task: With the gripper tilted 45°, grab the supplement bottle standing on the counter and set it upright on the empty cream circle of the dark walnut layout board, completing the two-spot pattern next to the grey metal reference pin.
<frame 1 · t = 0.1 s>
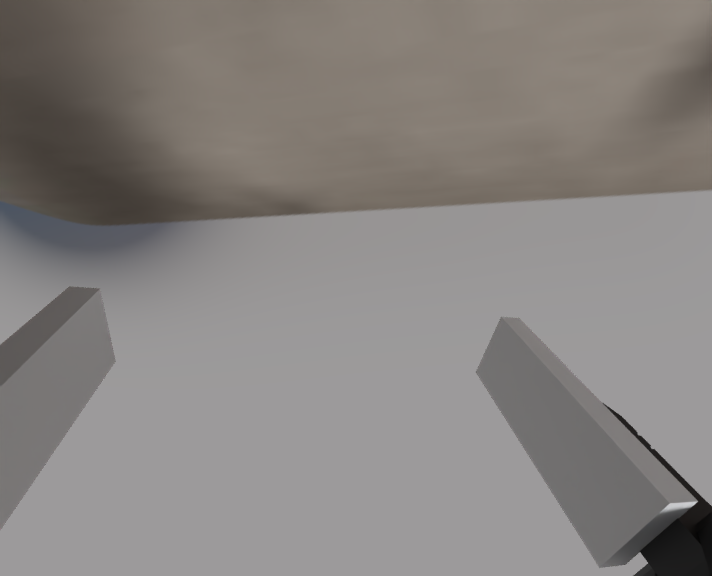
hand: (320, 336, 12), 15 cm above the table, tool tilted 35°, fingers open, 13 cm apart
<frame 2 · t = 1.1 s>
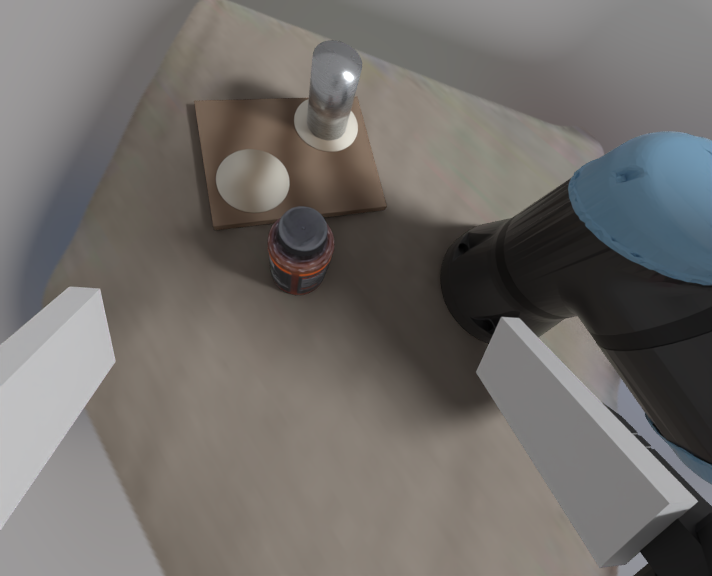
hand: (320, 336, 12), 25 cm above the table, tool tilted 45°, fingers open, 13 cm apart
reference pin: (325, 129, 43), resting on layout board
layout board: (292, 159, 41), on the table
supplement bottle: (297, 271, 38), on the table
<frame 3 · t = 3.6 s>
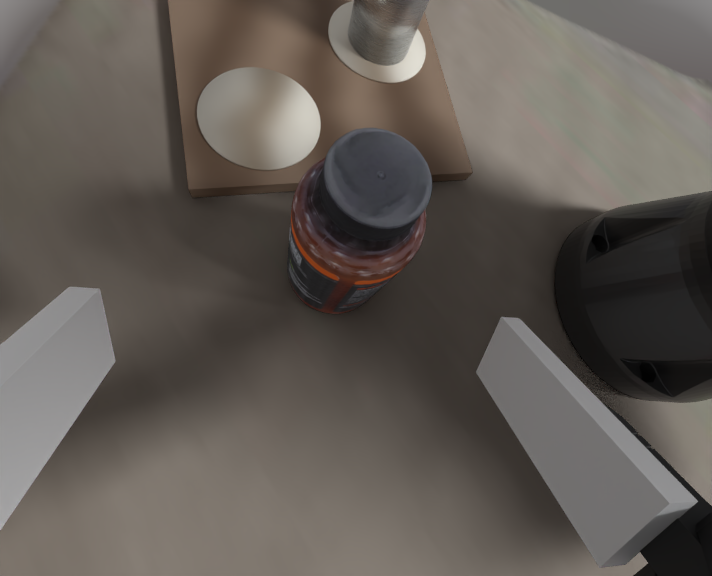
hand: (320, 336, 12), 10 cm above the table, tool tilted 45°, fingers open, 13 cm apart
reference pin: (374, 52, 28), resting on layout board
layout board: (323, 93, 26), on the table
supplement bottle: (331, 272, 23), on the table
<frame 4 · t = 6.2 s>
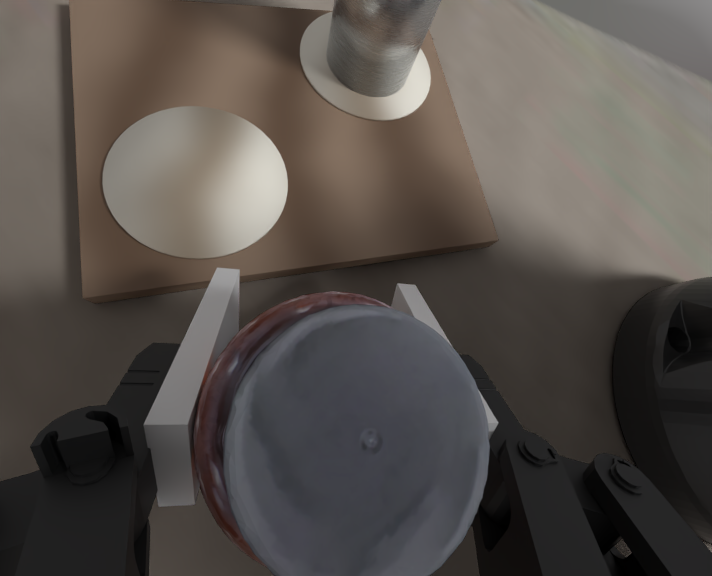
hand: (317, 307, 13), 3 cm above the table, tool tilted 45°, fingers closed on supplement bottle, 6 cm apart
reference pin: (363, 78, 21), resting on layout board
layout board: (294, 136, 19), on the table
supplement bottle: (305, 400, 16), on the table, touching gripper
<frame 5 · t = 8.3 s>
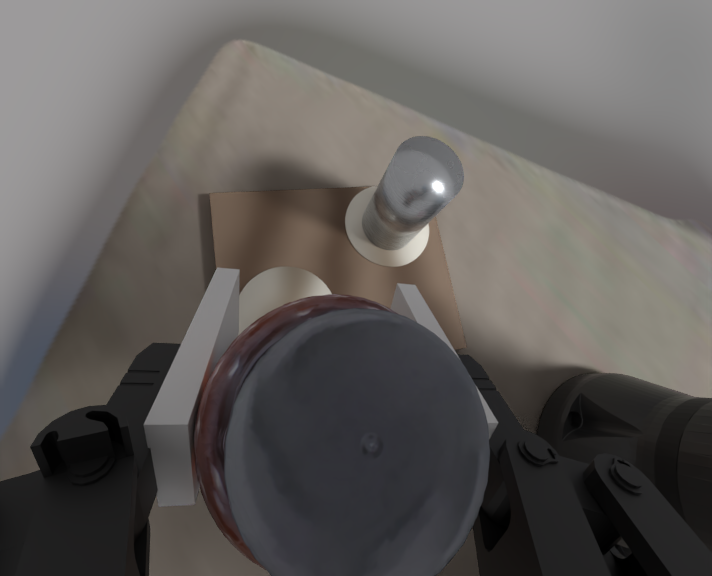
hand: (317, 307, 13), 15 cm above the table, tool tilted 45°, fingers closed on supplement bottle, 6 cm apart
reference pin: (384, 229, 32), resting on layout board
layout board: (339, 275, 30), on the table
supplement bottle: (305, 402, 16), point 12 cm above the table, touching gripper
when the fingers open (6 cm above the table, at t = 10.7 s): supplement bottle drops 1 cm, resting on layout board.
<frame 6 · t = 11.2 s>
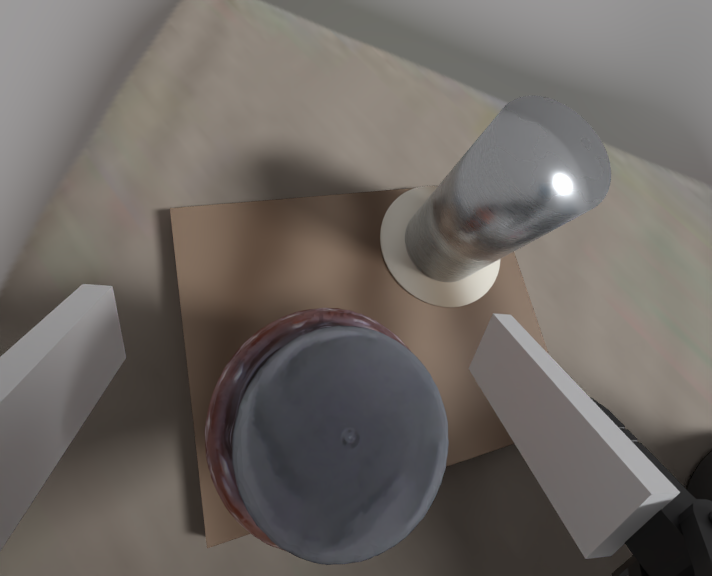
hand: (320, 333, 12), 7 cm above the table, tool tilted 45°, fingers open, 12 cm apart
reference pin: (434, 250, 22), resting on layout board
layout board: (376, 324, 20), on the table
supplement bottle: (303, 401, 17), point 1 cm above the table, touching layout board
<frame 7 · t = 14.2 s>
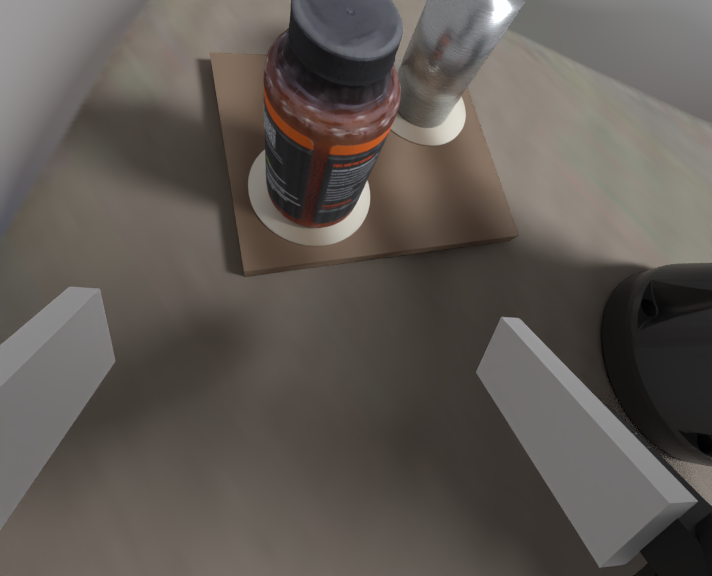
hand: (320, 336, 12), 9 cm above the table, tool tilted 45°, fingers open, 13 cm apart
reference pin: (414, 112, 28), resting on layout board
layout board: (367, 157, 25), on the table
supplement bottle: (312, 191, 22), point 1 cm above the table, touching layout board
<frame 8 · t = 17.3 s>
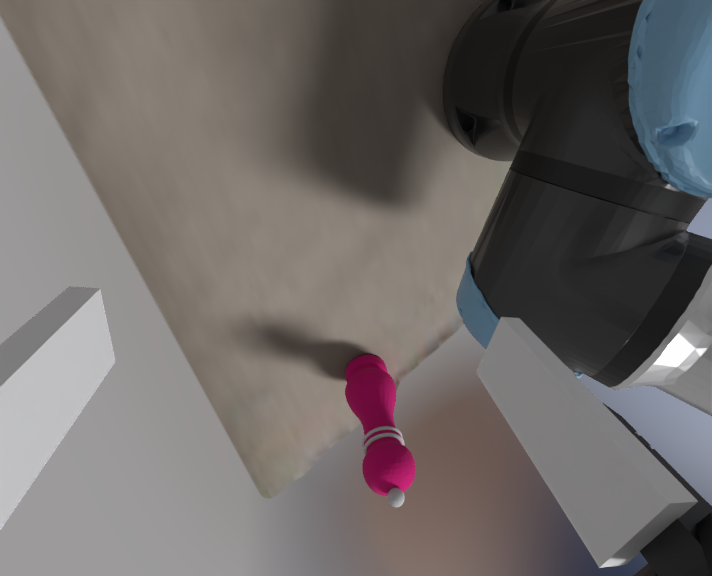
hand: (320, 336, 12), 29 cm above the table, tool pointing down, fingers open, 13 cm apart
pepper mill: (365, 368, 52), on the table
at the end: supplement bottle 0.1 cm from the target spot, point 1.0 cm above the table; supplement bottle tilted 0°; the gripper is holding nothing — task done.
